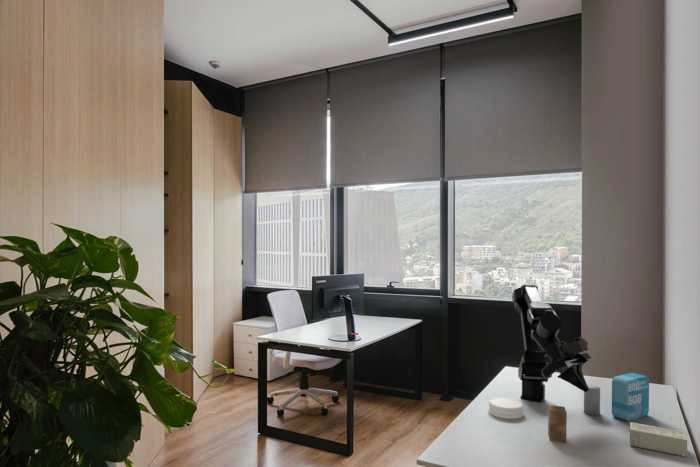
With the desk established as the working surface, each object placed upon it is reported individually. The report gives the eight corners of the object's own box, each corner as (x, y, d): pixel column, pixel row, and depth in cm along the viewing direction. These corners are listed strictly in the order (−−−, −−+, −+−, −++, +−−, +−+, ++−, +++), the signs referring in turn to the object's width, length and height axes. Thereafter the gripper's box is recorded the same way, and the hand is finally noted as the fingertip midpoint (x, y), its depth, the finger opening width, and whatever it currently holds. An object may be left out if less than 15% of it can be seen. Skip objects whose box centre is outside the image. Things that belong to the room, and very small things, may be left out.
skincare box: (629, 445, 120) (687, 458, 114) (629, 428, 120) (687, 440, 114) (629, 437, 125) (685, 449, 119) (630, 420, 125) (685, 431, 119)
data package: (626, 422, 136) (626, 381, 136) (611, 417, 140) (611, 377, 140) (649, 415, 142) (649, 375, 142) (634, 410, 146) (634, 371, 146)
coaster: (515, 407, 147) (515, 396, 147) (529, 420, 137) (529, 408, 137) (484, 408, 146) (484, 396, 146) (496, 420, 136) (496, 408, 136)
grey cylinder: (583, 413, 142) (583, 387, 142) (584, 409, 146) (584, 383, 146) (599, 417, 140) (599, 390, 140) (600, 412, 143) (600, 386, 143)
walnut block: (549, 440, 122) (550, 410, 123) (548, 434, 126) (548, 405, 126) (566, 442, 121) (566, 412, 121) (564, 436, 125) (564, 406, 125)
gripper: (552, 331, 129) (592, 381, 121) (584, 324, 141) (623, 370, 132) (526, 354, 136) (562, 403, 127) (559, 346, 147) (594, 390, 138)
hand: (587, 391), depth 131 cm, fingers closed
